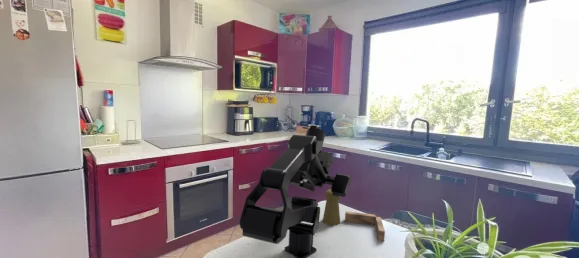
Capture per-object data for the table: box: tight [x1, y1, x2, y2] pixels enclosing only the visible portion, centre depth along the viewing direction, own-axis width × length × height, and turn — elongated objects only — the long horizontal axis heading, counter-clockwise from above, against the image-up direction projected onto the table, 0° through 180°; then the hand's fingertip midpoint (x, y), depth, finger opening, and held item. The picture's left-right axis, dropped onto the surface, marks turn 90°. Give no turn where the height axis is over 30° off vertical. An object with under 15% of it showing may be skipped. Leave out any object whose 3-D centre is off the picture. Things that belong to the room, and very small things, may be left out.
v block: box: [344, 210, 386, 242], centre depth 87 cm, size 8×16×3 cm, turn 33°
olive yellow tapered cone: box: [322, 188, 341, 227], centre depth 90 cm, size 6×6×11 cm
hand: (326, 193), depth 85 cm, fingers open, 9 cm apart
